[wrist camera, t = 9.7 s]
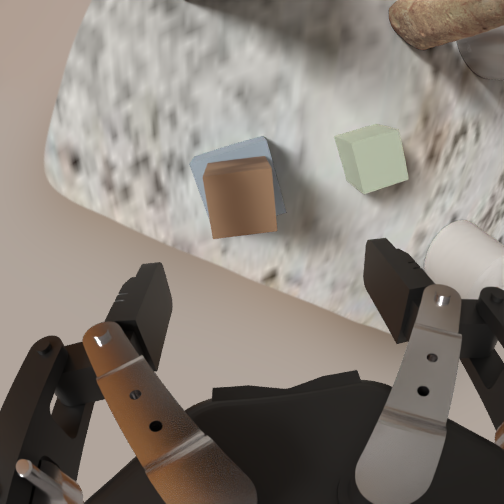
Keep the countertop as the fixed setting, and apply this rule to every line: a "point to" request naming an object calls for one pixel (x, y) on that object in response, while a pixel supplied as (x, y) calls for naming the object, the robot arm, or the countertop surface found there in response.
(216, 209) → the walnut cube
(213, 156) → the base block
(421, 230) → the countertop surface
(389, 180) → the sage cube
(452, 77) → the countertop surface
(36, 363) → the robot arm
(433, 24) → the tan long rounded piece
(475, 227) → the toilet tissue
